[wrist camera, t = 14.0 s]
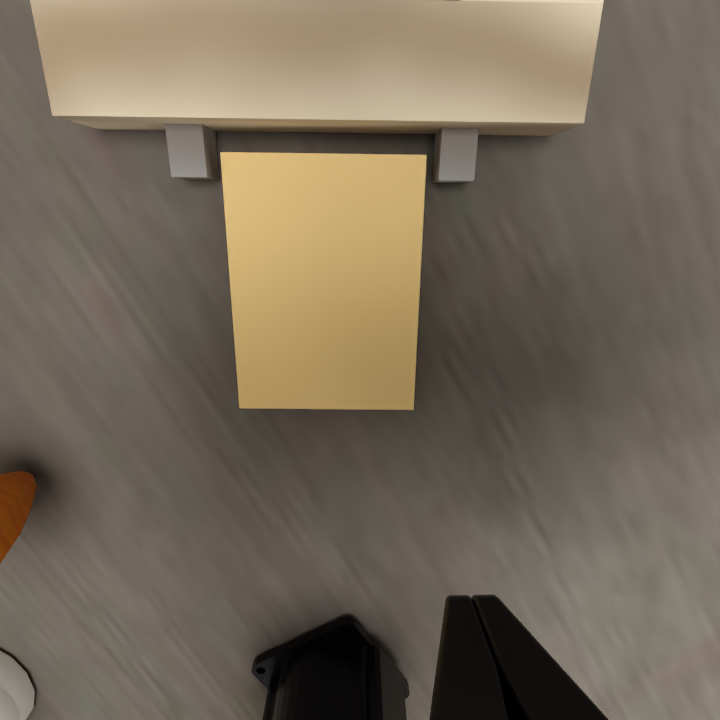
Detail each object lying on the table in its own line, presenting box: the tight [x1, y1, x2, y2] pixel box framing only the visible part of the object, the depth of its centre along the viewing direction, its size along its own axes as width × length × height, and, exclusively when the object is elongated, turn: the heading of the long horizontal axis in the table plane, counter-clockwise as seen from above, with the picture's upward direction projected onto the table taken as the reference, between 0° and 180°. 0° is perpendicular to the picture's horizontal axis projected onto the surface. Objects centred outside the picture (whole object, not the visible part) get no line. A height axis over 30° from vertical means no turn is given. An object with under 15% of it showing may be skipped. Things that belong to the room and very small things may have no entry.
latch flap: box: [220, 152, 427, 410], centre depth 17 cm, size 9×7×1 cm
